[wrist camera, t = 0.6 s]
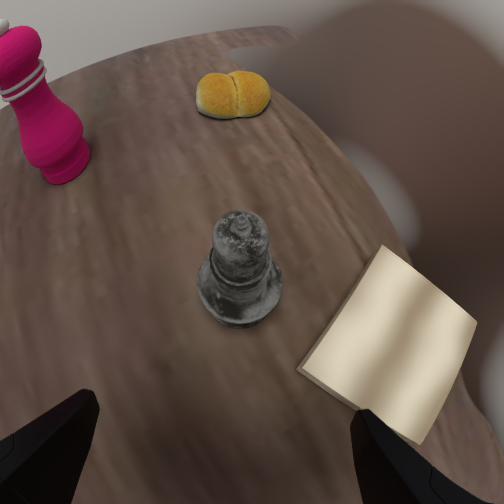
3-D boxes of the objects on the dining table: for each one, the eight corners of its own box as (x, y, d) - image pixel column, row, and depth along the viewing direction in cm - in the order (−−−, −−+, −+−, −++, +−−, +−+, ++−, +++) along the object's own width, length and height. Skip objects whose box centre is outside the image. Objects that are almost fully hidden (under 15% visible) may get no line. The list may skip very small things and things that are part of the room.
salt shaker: (265, 254, 26) (285, 157, 15) (285, 322, 23) (327, 264, 12) (195, 269, 25) (167, 178, 14) (211, 339, 22) (185, 296, 12)
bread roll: (276, 118, 33) (280, 91, 30) (199, 126, 32) (196, 99, 28) (260, 81, 36) (262, 57, 33) (194, 88, 35) (191, 63, 32)
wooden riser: (461, 328, 23) (477, 322, 21) (404, 441, 19) (420, 445, 17) (370, 256, 26) (382, 244, 24) (295, 369, 22) (302, 367, 19)
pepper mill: (72, 194, 27) (-17, 37, 9) (32, 183, 28) (-49, 54, 10) (105, 144, 30) (51, -9, 12) (64, 138, 31) (7, 9, 13)
